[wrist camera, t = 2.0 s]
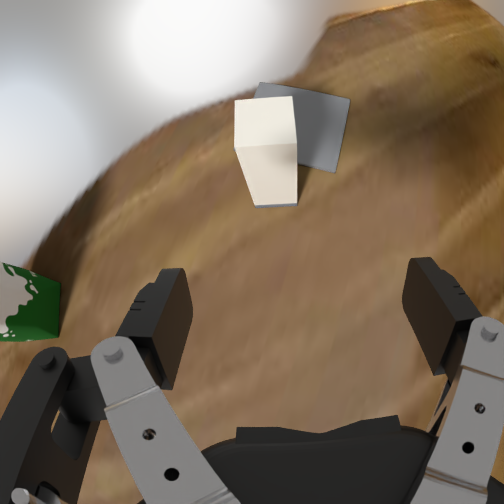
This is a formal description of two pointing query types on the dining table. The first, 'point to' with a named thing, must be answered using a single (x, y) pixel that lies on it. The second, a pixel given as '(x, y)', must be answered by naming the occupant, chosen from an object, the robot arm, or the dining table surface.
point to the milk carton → (27, 305)
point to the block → (267, 149)
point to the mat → (313, 123)
